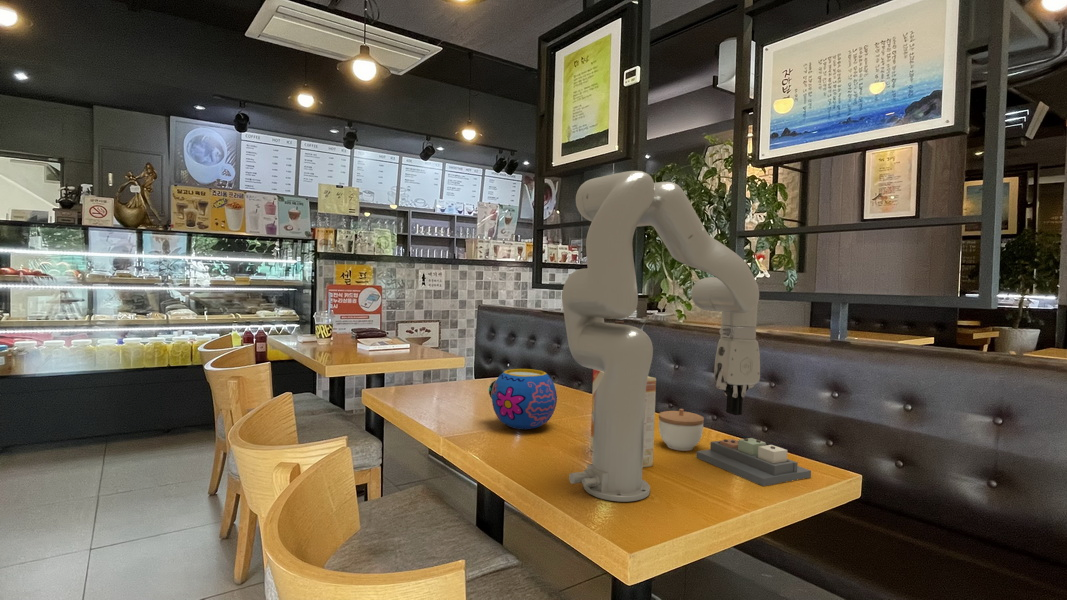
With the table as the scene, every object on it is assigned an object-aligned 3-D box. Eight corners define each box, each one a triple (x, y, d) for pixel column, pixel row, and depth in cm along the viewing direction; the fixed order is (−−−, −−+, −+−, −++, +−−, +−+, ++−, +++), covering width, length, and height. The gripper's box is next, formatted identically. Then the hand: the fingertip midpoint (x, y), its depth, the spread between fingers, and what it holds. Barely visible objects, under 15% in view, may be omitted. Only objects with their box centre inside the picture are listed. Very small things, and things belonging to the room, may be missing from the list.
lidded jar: (692, 457, 128) (694, 416, 127) (650, 447, 134) (651, 409, 134) (709, 446, 136) (710, 409, 136) (668, 438, 143) (669, 402, 142)
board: (763, 486, 110) (763, 469, 110) (696, 457, 127) (697, 442, 127) (810, 477, 116) (811, 461, 116) (741, 451, 133) (741, 437, 133)
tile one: (773, 463, 114) (774, 450, 114) (757, 457, 118) (758, 445, 117) (786, 461, 116) (787, 448, 116) (771, 455, 119) (771, 443, 119)
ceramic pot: (527, 416, 161) (529, 365, 161) (569, 430, 147) (571, 374, 147) (477, 424, 150) (479, 369, 149) (517, 440, 136) (519, 380, 136)
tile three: (732, 456, 124) (733, 444, 124) (719, 450, 127) (719, 439, 127) (745, 454, 126) (746, 442, 126) (732, 449, 129) (732, 437, 129)
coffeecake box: (588, 450, 130) (591, 368, 129) (613, 447, 133) (616, 366, 133) (627, 470, 117) (631, 379, 116) (654, 466, 120) (657, 377, 119)
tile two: (752, 455, 119) (752, 443, 119) (738, 450, 122) (738, 438, 122) (765, 453, 121) (766, 441, 121) (751, 448, 124) (751, 436, 124)
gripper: (726, 335, 119) (721, 420, 119) (775, 335, 125) (770, 415, 126) (701, 332, 126) (697, 412, 126) (749, 332, 132) (744, 408, 133)
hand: (733, 413), depth 126 cm, fingers closed
